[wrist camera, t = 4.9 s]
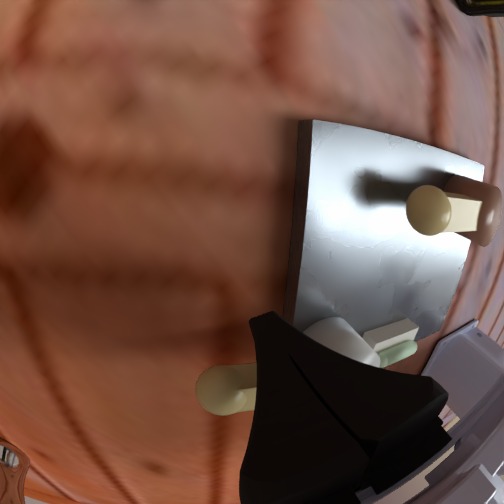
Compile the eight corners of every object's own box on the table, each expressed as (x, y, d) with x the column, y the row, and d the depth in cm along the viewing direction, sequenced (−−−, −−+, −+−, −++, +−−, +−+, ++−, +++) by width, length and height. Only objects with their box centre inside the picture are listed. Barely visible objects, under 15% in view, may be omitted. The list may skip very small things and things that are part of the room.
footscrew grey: (357, 313, 14) (394, 349, 11) (338, 362, 15) (366, 398, 13) (189, 326, 11) (201, 384, 8) (188, 381, 13) (199, 435, 10)
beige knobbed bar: (470, 177, 14) (509, 191, 11) (461, 228, 15) (497, 246, 12) (384, 158, 11) (440, 171, 8) (374, 233, 12) (423, 261, 10)
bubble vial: (407, 317, 16) (427, 334, 14) (397, 344, 17) (414, 361, 15) (364, 332, 15) (384, 353, 13) (354, 360, 16) (372, 381, 14)
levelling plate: (471, 162, 15) (484, 165, 14) (430, 323, 20) (439, 330, 19) (298, 120, 11) (312, 119, 9) (275, 373, 16) (282, 387, 15)
